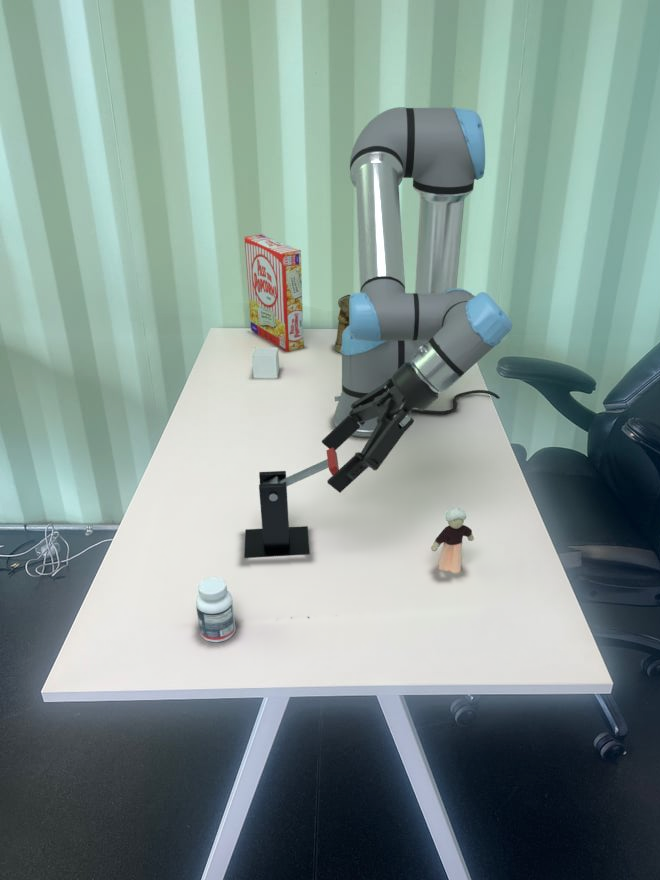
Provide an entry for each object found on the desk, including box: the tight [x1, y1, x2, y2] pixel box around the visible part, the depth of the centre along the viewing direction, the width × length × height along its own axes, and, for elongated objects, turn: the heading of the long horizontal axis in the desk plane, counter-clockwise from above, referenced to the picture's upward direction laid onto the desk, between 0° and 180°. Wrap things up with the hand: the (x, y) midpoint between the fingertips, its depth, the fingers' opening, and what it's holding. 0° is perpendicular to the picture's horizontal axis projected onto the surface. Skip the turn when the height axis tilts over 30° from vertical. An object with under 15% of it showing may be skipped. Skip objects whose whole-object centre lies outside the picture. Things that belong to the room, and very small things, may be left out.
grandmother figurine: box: [430, 506, 475, 574], centre depth 124 cm, size 8×4×13 cm, turn 126°
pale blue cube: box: [251, 346, 280, 379], centre depth 195 cm, size 6×6×6 cm
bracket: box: [243, 470, 311, 559], centre depth 128 cm, size 11×8×14 cm
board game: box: [243, 233, 305, 353], centre depth 210 cm, size 20×6×27 cm, turn 37°
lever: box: [263, 448, 340, 488], centre depth 125 cm, size 13×6×2 cm, turn 97°
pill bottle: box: [195, 576, 237, 643], centre depth 111 cm, size 5×5×9 cm
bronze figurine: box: [334, 294, 352, 354], centre depth 206 cm, size 9×14×18 cm, turn 179°
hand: (330, 466), depth 124 cm, fingers open, 13 cm apart
